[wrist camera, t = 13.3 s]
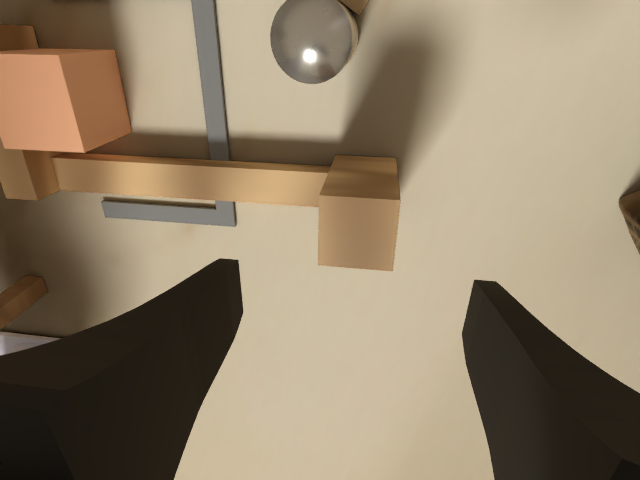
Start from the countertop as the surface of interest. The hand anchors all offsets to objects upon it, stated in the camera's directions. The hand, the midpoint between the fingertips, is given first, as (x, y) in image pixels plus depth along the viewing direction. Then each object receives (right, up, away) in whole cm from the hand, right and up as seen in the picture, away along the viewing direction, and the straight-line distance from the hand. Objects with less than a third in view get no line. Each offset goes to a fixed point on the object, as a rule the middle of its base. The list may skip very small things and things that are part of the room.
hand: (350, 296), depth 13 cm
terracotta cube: (-13, +9, +9) cm, 18 cm away
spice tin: (-1, +11, +6) cm, 12 cm away
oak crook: (-7, +8, +8) cm, 13 cm away
